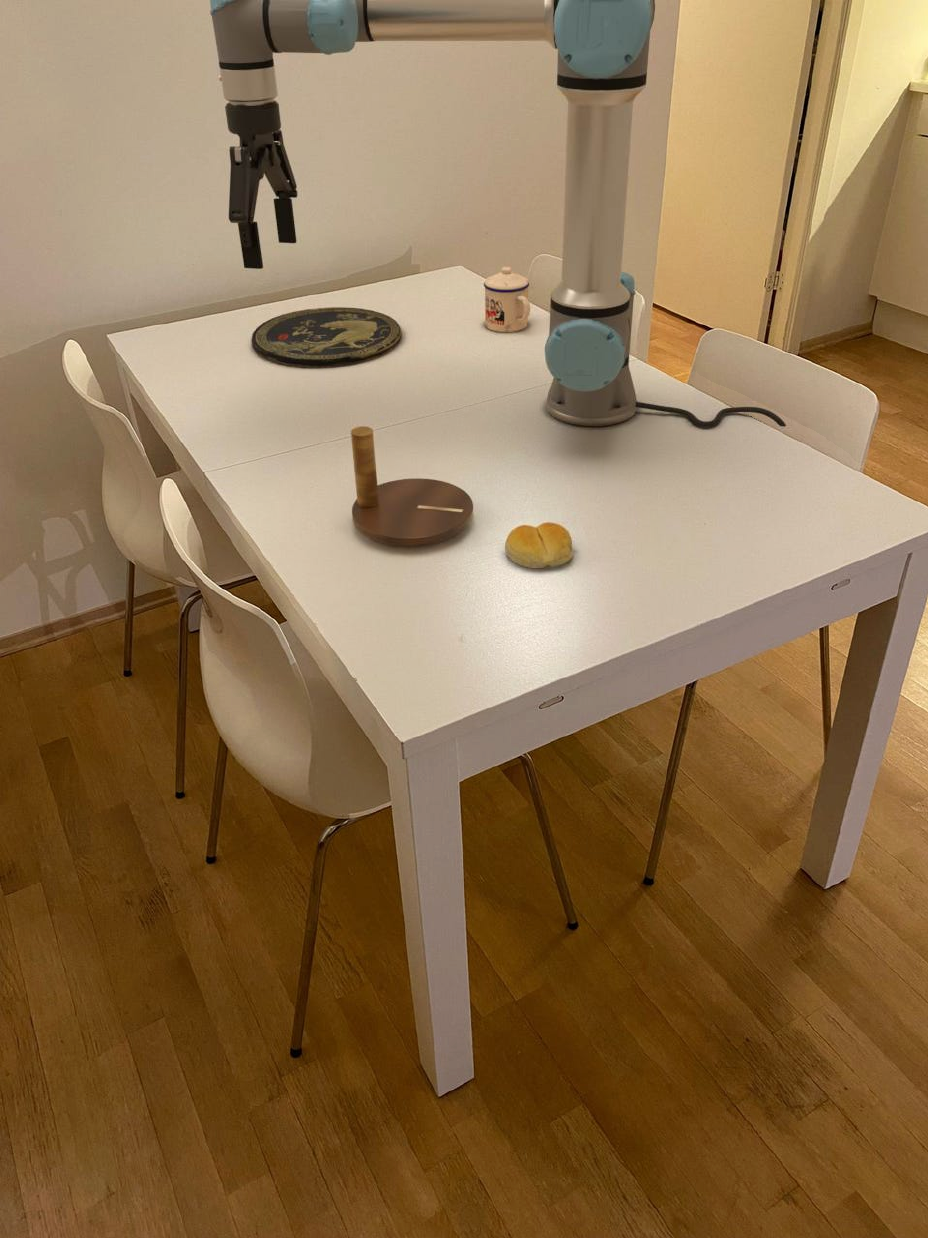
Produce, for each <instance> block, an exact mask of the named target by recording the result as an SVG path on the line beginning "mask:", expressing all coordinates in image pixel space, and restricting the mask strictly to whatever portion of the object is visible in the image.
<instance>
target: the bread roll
mask: <svg viewBox="0 0 928 1238" xmlns="http://www.w3.org/2000/svg"><path fill="white" fill-rule="evenodd" d="M504 550H505V553H506V555H507V556H508V557H509V559H510V560H511V561H512V562H515V563H516V564H519V565H521V566H522V567H526V568H530V569H542V568H543V569H544V568H546V567H548V566H549V567H557V566H562V565H564V564H566V563H567V562H569V561H570V560H571V559H572V558H573V556H574V554H575V553H574V550H573V539H572V536H571V534H570V531H569V530H567V528H566V527H564V526H563V525H560V524H558V523H555V522H550V521H547V522H544V523H540V524H539V525H537V526H532V525H529V524H522V525H519V526H516V527H515V528H513V529H512V530H511V531H510V532H509V533H508V535H507V538H506V540H505V543H504Z"/></svg>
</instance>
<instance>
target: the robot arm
mask: <svg viewBox="0 0 928 1238" xmlns="http://www.w3.org/2000/svg"><path fill="white" fill-rule="evenodd" d="M655 3H656V1H655V0H209V4H210V11H209V15H210V16H211V21H212V27H213V33H214V39H215V46H216V52H217V58H218V65H219V72H220V74H219V75H218V79H219V81H220V82H221V86H222V93H223V98H224V100H226V101H228V102H227V103H226V105H225V107H224V109H225V110H224V111H225V116H226V124H227V129H228V131H229V133H231V134H233V135H237V136H238V138H239V146H229V149H228V150H229V151H228V152H229V159H230V160H229V161H230V176H229V195H228V196H229V198H228V220H229V222H230V223H231V224H237V227H238V228H237V229H238V234H239V242H240V248H241V254H242V261H243V262H242V263H243V268H244V269H254V270H262V269H264V263H263V256H262V247H261V241H260V233H259V225H258V221H254V220H255V214H256V209H257V207H256V206H257V203H258V202H257V201H258V195H259V194H258V193H259V187H260V181H261V180H263V179H264V177H265V178H266V180H267V181H268V184H269V186H270V187H271V190H272V191H273V193H274V195H275V198H273V207H274V214H275V222H276V230H277V238H278V243H280V244H296V243H297V234H296V226H295V224H296V223H295V217H294V207H293V200H292V199H293V198H295V199H296V198H298V190H297V182H296V179H295V176H294V172H293V170H292V166H291V163H290V160H289V157H288V153H287V151H286V147H285V144H284V137H283V132H282V130H281V128H282V120H281V113H280V105H279V103H278V101H277V100H275V99H276V98H277V97H278V96H279V92H278V86H277V85H278V84H277V77H276V69H275V63H274V53H275V54H282V53H286V54H287V53H291V54H294V53H295V54H324V55H326V56H327V55H328V56H331V55H333V54H343V53H349V52H351V51H352V50H353V49H355V46H356V43H369V42H370V43H373V42H536V41H537V42H547V43H548V44H549V45H550V46H551V47H552V48H553V49H554V50H557V66H556V67H557V73H556V88H557V89H558V90H559V92H560V93H561V94H562V95H563V96H564V97H565V99H566V101H567V117H566V119H567V120H566V122H567V123H566V141H565V142H566V144H565V145H566V146H565V173H564V174H565V175H564V199H563V200H564V202H563V225H562V227H563V228H562V229H563V230H562V253H561V254H562V257H561V281H560V282H559V283H558V284H557V285H556V286H555V287H553V289H552V290H551V292H550V305H549V306H550V307H549V333H548V337H547V339H546V341H545V342H546V343H545V344H544V358H545V364H546V367H547V370H548V371H549V373H550V375H551V376H552V377H553V378H552V381H551V384H550V387H549V390H548V393H547V396H546V411H547V412H548V413H549V414H550V416H552V417H553V418H555V419H557V420H558V421H561V422H564V423H567V424H571V425H575V426H583V427H605V426H611V425H616V424H620V423H623V422H625V421H627V420H629V419H630V418H632V417H633V416H634V415H635V414H636V412H637V408H639V409H645V410H651V411H657V412H663V413H670V414H677V415H681V416H684V417H686V418H687V419H689V420H690V421H692V423H693V424H694V425H695V426H698V427H703V428H708V427H714V426H717V424H718V423H720V421H721V419H722V417H724V415H727V414H736V413H737V414H738V413H755V414H760V415H762V416H766V417H768V418H770V419H771V420H772V421H774V422H775V423H776V424H777V425H778V426H779V427H783V428H784V427H787V425H786V423H785V422H784V420H783V419H782V418H781V417H780V416H778V415H777V414H776V413H774V412H772V411H770V410H769V409H766V408H762V407H757V406H736V407H726V408H722V409H721V410H719V412H717V414H716V416H715V417H714V418H713V419H712V420H709V421H708V420H707V421H706V420H705V421H704V420H700V419H699V418H697V416H695V414H694V413H692V412H691V411H689V410H686V409H683V408H679V407H672V406H665V405H658V404H654V403H646V402H640V401H637V394H636V389H635V386H634V381H633V377H632V373H631V370H630V353H631V339H632V326H633V312H634V300H635V296H636V290H635V284H636V283H635V282H636V281H635V278H634V277H633V275H632V274H630V273H628V272H625V271H622V265H623V253H624V252H623V250H624V238H625V226H626V225H625V224H626V223H625V222H626V209H627V195H628V179H629V167H630V166H629V165H630V154H631V153H630V151H631V139H632V138H631V137H632V123H633V109H634V108H633V107H634V101H635V99H636V98H637V96H638V95H639V94H640V93H642V92H643V90H644V89H645V88H647V87H646V86H647V79H648V78H647V76H648V65H649V64H648V63H649V52H650V39H651V38H650V37H651V29H652V27H653V25H654V24H653V23H654V19H655V12H656V4H655Z"/></svg>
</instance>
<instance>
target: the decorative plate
mask: <svg viewBox="0 0 928 1238" xmlns="http://www.w3.org/2000/svg"><path fill="white" fill-rule="evenodd" d="M402 337H403V336H402V329H401V326H400V324H399V323H398V322H397V320H395V319H394V318H393V317H391V316H389V315H387V314H385V313H382V312H379V311H375V310H372V309H366V308H359V307H347V306H346V307H345V306H331V307H315V308H306V309H302V310H301V309H300V310H295V311H291V312H288V313H283V314H281V315H278V316H275V317H272V318H270V319H268V320H266V321H265V322H262V323H260V325H259V326H258V327H256V329H255V330H254V331H253V332H252V335H251V346H252V348H253V350H254V352H256V353H257V354H258V355H259V356H260V357H262V358H264V359H265V360H269V361H271V362H274V363H277V364H280V365H281V364H282V365H286V366H292V367H294V366H295V367H302V368H331V367H332V368H333V367H340V366H341V367H342V366H350V365H354V364H357V363H358V364H359V363H364V362H367V361H370V360H373V359H376V358H378V357H381V356H384V355H385V354H388V353H389V352H391V351H392V350H394V349H395V348H396V347H398V345H399V344H400V342H401V340H402Z"/></svg>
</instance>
